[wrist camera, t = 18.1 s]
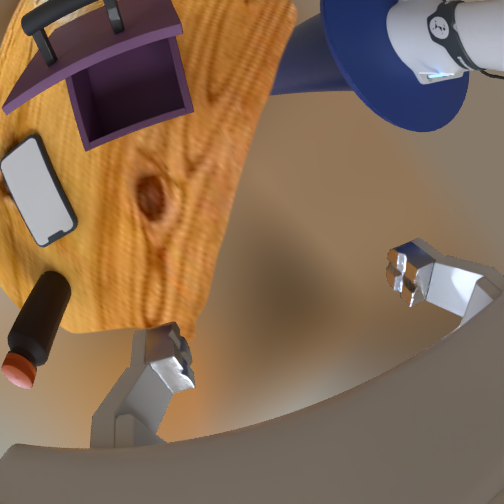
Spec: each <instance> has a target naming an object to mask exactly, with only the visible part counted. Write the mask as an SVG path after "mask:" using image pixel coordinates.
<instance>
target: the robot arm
mask: <svg viewBox="0 0 504 504" xmlns="http://www.w3.org/2000/svg"><path fill="white" fill-rule="evenodd" d="M386 24H387V32H388V36H389V39H390V41H391V44H392V46H393V48H394V50H395V52H396V53H397V55H398V56H399V57H400V59H401V60H402V61H403V62H404V63H405V64H406V65H407V66H408V67H409V68H410V69H411V70H412V71H413V72H414V74H415V76H416V77H417V79H418V81H419V82H420V83H421V84H430V83H434V82H439V81H443V80H448V79H454V78H459V77H462V76H463V72H466V71H470V70H473V71H480V72H481V73H483V74H485V75H487V76H489V77H492V78H499V79H504V77H502V76H498V75H492V74H488V73H487V72H485V71H483V70H486V69H492V70H499V71H504V0H486V1H475V2H464V1H460V0H449V1H445V2H443V1H442V0H399V1H398V3H397V4H395V5H394V6H393V7H391V9H390V10H389V12H388V15H387V21H386ZM387 259H388V260H389V262H390V263H389V265H388V267H387V269H386V277H387V281H388V283H389V285H390V287H392V289H393V290H395V291H398V292H400V295H401V298H402V299H403V300H404V301H405V302H406V303H407V304H408V305H409V306H410V307H411V306H413V305H416V304H417V303H420V302H422V301H424V300H426V301H429V302H431V303H433V304H435V305H437V306H440V307H442V308H444V309H446V310H448V311H451V312H453V313H455V314H457V315H460V316H462V317H463V318H462V321H461V323H460V326H459V327H458V328H456V329H455V330H454V331H452V332H451V333H449V334H448V335H446V336H445V337H443V338H442V339H440V340H439V341H437V342H436V343H434V344H433V345H431V346H429V347H428V348H427V349H425V350H423V351H421V352H420V353H418V354H416V355H415V356H413V357H411V358H410V359H408V360H406V361H405V362H403V363H401V364H399V365H397V366H396V367H394V368H392V369H390V370H388V371H386V372H384V373H382V374H380V375H379V376H376V377H374V378H373V379H371V380H368V381H366V382H364V383H362V384H360V385H358V386H356V387H354V388H352V389H349V390H347V391H345V392H343V393H340V394H338V395H336V396H333V397H331V398H329V399H326V400H324V401H321V402H319V403H316V404H314V405H311V406H308V407H306V408H303V409H301V410H298V411H295V412H292V413H289V414H287V415H283V416H280V417H277V418H274V419H271V420H268V421H264V422H261V423H258V424H254V425H250V426H247V427H243V428H239V429H236V430H231V431H227V432H223V433H219V434H214V435H209V436H204V437H199V438H194V439H189V440H183V441H177V442H170V443H167V442H165V441H164V440H163V439H161V438H160V437H159V436H157V435H156V432H157V430H158V428H159V425H160V423H161V421H162V419H163V416H164V414H165V412H166V410H167V407H168V405H169V403H170V401H171V398H172V396H173V393H175V392H179V391H183V390H187V389H190V388H195V381H194V372H193V371H192V369H191V367H190V365H191V363H192V356H191V352H190V348H189V346H188V343H187V341H186V339H185V338H184V337H182V336H180V329H179V327H178V325H177V324H176V322H170V323H166V324H162V325H158V326H154V327H149V328H147V329H142V330H138V331H135V332H134V334H133V341H132V352H131V362H130V367H129V368H126V369H125V371H124V372H123V374H122V375H121V376H120V378H119V379H118V381H117V382H116V383H115V385H114V386H113V388H112V389H111V391H110V392H109V393H108V395H107V396H106V398H105V399H104V400H103V402H102V403H101V405H100V406H99V408H98V409H97V411H96V412H95V413H94V415H93V416H92V425H91V439H90V448H88V449H87V448H86V449H83V448H81V449H80V448H56V447H55V448H54V447H42V446H33V445H26V444H14V445H12V446H11V447H10V448H9V449H8V450H7V451H6V453H5V454H4V455H3V456H2V458H1V459H0V504H504V275H503V274H501V273H500V272H499V271H498V270H496V269H495V268H494V267H490V266H487V265H483V264H479V263H476V262H472V261H468V260H464V259H460V258H456V257H452V256H444V255H443V254H441V253H440V252H439V251H437V250H436V249H434V248H433V247H432V246H431V245H429V244H428V243H427V242H425V241H424V240H422V239H420V238H416V239H414V240H412V241H409V242H408V243H405V244H403V245H400V246H398V247H395V248H393V249H390V250H389V252H388V257H387Z"/></svg>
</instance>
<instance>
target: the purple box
mask: <svg viewBox="0 0 504 504" xmlns="http://www.w3.org/2000/svg"><path fill="white" fill-rule="evenodd" d="M65 79H66V84H67V88H68V92H69V97H70V101H71V105H72V108H73V112H74V116H75V119H76V123H77V126H78V130H79V133H80V136H81V140H82V143H83V146H84V149H85V152H86V151H88V150H91V149H93V148H95V147H97V146H100V145H102V144H104V143H107V142H109V141H111V140H114V139H116V138H119V137H121V136H124V135H126V134H129V133H132V132H134V131H137V130H140V129H142V128H145V127H148V126H151V125H154V124H157V123H160V122H163V121H166V120H169V119H172V118H175V117H179V116H182V115H185V114H189V113H192V112H194V110H193V106H192V102H191V98H190V94H189V90H188V86H187V82H186V78H185V74H184V70H183V66H182V62H181V58H180V53H179V49H178V45H177V41H176V37H175V36H172V37H168V38H165V39H161V40H158V41H155V42H152V43H148V44H145V45H142V46H139V47H136V48H134V49H131V50H128V51H125V52H123V53H120V54H118V55H115V56H113V57H110V58H108V59H105V60H103V61H101V62H98V63H96V64H94V65H92V66H90V67H87V68H85V69H83V70H81V71H79V72H77V73H75V74H73V75H71V76H69V77H67V78H65Z"/></svg>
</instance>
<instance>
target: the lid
mask: <svg viewBox="0 0 504 504" xmlns="http://www.w3.org/2000/svg"><path fill="white" fill-rule="evenodd" d="M95 1H98V0H48V1H47V2H45V3H43V4H42V5H40V6H38V7H37V8H35V9H33V10H32V11H30V12H29V13H27V14H26V15H24V16H23V17H22V20H21V25H22V29H23V31H24V32H25V34H26V35H28V36H31V35H32V36H33V38H34V40H35V42H36V44H37V46H38V48H39V50H38V52H37V53H36V54H35V56H34V57H33V58H32V60H31V61H30V63H29V64H28V66H27V67H26V69H25V70H24V72H23V73H22V75H21V76H20V78H19V79H18V81H17V82H16V84H15V86H14V87H13V89H12V91H11V92H10V94H9V96H8V98H7V99H6V101H5V103H4V105H3V107H2V109H3V111H4V112H5V114H6V115H8V114H9V113H11V112H12V111H14V110H15V109H16V108H18V107H19V106H21V105H22V104H24V103H25V102H27V101H28V100H30V99H31V98H33V97H34V96H36V95H38V94H39V93H41V92H43V91H44V90H46V89H48V88H49V87H51V86H53V85H54V84H56V83H58V82H60V81H62V80H64V79H65V78H67V77H69V76H71V75H73V74H75V73H77V72H79V71H81V70H83V69H85V68H87V67H90V66H92V65H94V64H96V63H98V62H101V61H103V60H105V59H108V58H110V57H113V56H115V55H118V54H120V53H123V52H125V51H128V50H131V49H134V48H136V47H139V46H142V45H145V44H148V43H152V42H155V41H158V40H161V39H165V38H168V37H172V36H176V35H180V34H183V30H182V25H181V22H180V20H179V18H178V15H177V13H176V11H175V9H174V7H173V4H172V2H171V0H118V1H117V0H103V1H104V4H105V6H103V7H100V8H98V9H96V10H93V11H91V12H89V13H87V14H85V15H83V16H80V17H78V18H76V19H74V20H72V21H70V22H68V23H66V24H65V25H63V26H61V27H59V28H57V29H55V30H54V31H53V33H52V34H51V35H50V36H49V37H47V35H46V32H45V30H44V27H46V26H48V25H49V24H51V23H53V22H55V21H57V20H58V19H60V18H62V17H64V16H66V15H68V14H70V13H72V12H74V11H76V10H78V9H80V8H82V7H84V6H86V5H88V4H91V3H93V2H95Z"/></svg>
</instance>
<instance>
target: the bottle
mask: <svg viewBox="0 0 504 504" xmlns="http://www.w3.org/2000/svg"><path fill="white" fill-rule="evenodd" d="M70 296H71V288H70V286H69V283H68V282H67V281H66V279H65V278H64V277H62V276H61V275H60V274H58V273H55V272H45V273H44V274H42V275H41V276H40V278H39V280H38V281H37V283H36V284H35V286H34V288H33V290H32V291H31V293H30V295H29V296H28V298H27V300H26V302H25V304H24V305H23V307H22V309H21V311H20V313H19V315H18V317H17V319H16V321H15V322H14V325H13V327H12V329H11V331H10V333H9V335H8V345H9V347H10V350H11V351H9V352H8V354H7V355H6V358H5V360H4V362H3V365H2V372H3V373H4V375H5V376H6V377H7V379H9V380H10V381H11V382H12V383H14V384H15V385H17V386H20V387H22V388H32V386H33V383H34V380H35V376H36V372H37V368H36V367H37V366H41V365H43V364H45V362H46V361H47V359H48V356H49V353H50V350H51V347H52V344H53V341H54V338H55V335H56V333H57V330H58V327H59V325H60V322H61V319H62V317H63V314H64V312H65V309H66V307H67V304H68V302H69V300H70Z"/></svg>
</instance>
